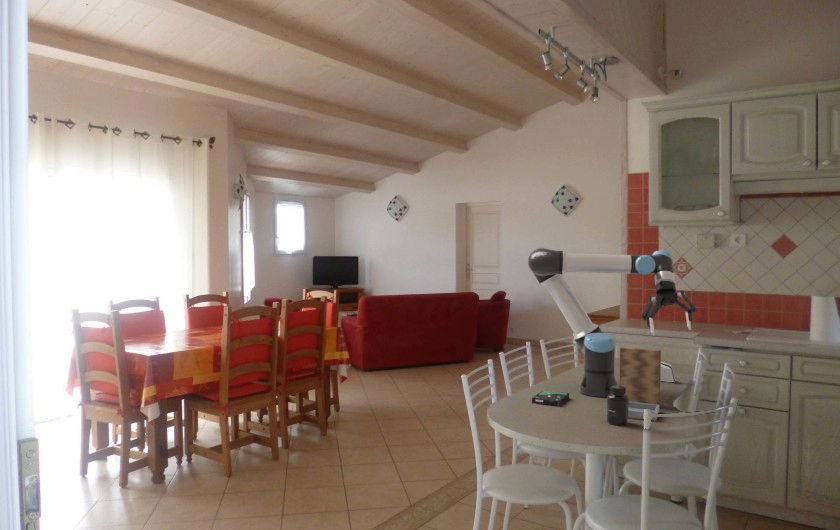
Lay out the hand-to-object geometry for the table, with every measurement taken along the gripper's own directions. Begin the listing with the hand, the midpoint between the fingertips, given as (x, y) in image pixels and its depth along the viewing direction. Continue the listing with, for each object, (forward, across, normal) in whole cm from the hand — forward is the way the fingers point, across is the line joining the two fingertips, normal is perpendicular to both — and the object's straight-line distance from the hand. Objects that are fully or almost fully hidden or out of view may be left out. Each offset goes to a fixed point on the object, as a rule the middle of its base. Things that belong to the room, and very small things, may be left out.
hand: (670, 331), depth 235 cm
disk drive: (+30, +43, +15) cm, 55 cm away
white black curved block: (+1, +18, -41) cm, 45 cm away
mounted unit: (+29, +14, +1) cm, 32 cm away
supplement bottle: (+45, +15, +26) cm, 54 cm away
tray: (+37, +12, +13) cm, 41 cm away
